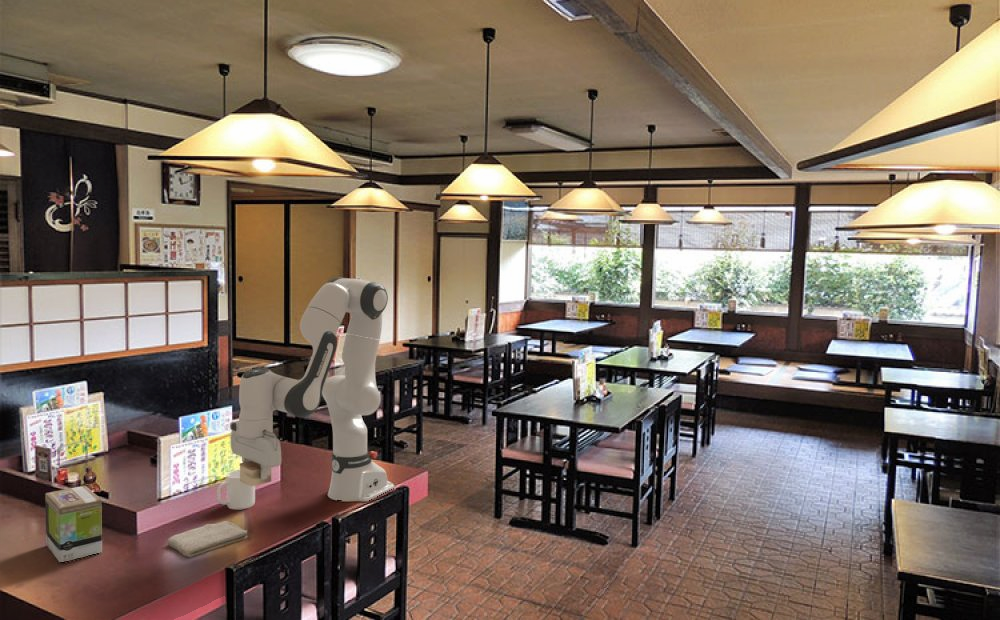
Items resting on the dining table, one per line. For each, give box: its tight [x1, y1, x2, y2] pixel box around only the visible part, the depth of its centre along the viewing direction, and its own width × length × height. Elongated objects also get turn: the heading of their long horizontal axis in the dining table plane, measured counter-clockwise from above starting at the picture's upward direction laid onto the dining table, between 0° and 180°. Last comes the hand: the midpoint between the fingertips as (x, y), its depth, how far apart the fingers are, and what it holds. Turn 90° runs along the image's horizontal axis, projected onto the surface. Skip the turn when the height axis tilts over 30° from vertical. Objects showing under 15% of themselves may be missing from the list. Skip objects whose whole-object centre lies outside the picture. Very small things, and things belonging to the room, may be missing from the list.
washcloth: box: [166, 520, 248, 558], centre depth 187 cm, size 12×18×3 cm, turn 142°
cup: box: [216, 469, 256, 511], centre depth 212 cm, size 8×12×10 cm
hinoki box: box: [239, 460, 272, 487], centre depth 190 cm, size 6×6×5 cm
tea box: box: [44, 485, 103, 563], centre depth 180 cm, size 15×10×15 cm
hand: (255, 475), depth 190 cm, fingers closed on hinoki box, 6 cm apart
